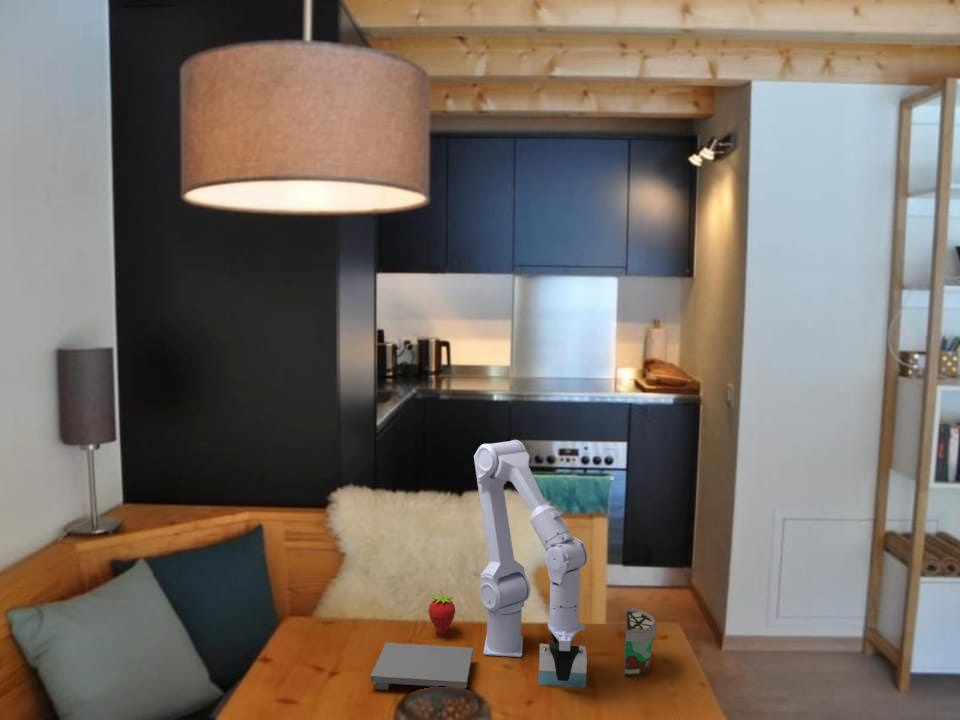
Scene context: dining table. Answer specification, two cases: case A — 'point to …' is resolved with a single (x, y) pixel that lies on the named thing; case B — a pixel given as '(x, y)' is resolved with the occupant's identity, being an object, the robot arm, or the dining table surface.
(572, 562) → the robot arm
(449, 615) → the strawberry
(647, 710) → the dining table surface
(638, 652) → the food container
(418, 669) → the stand
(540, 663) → the housing
